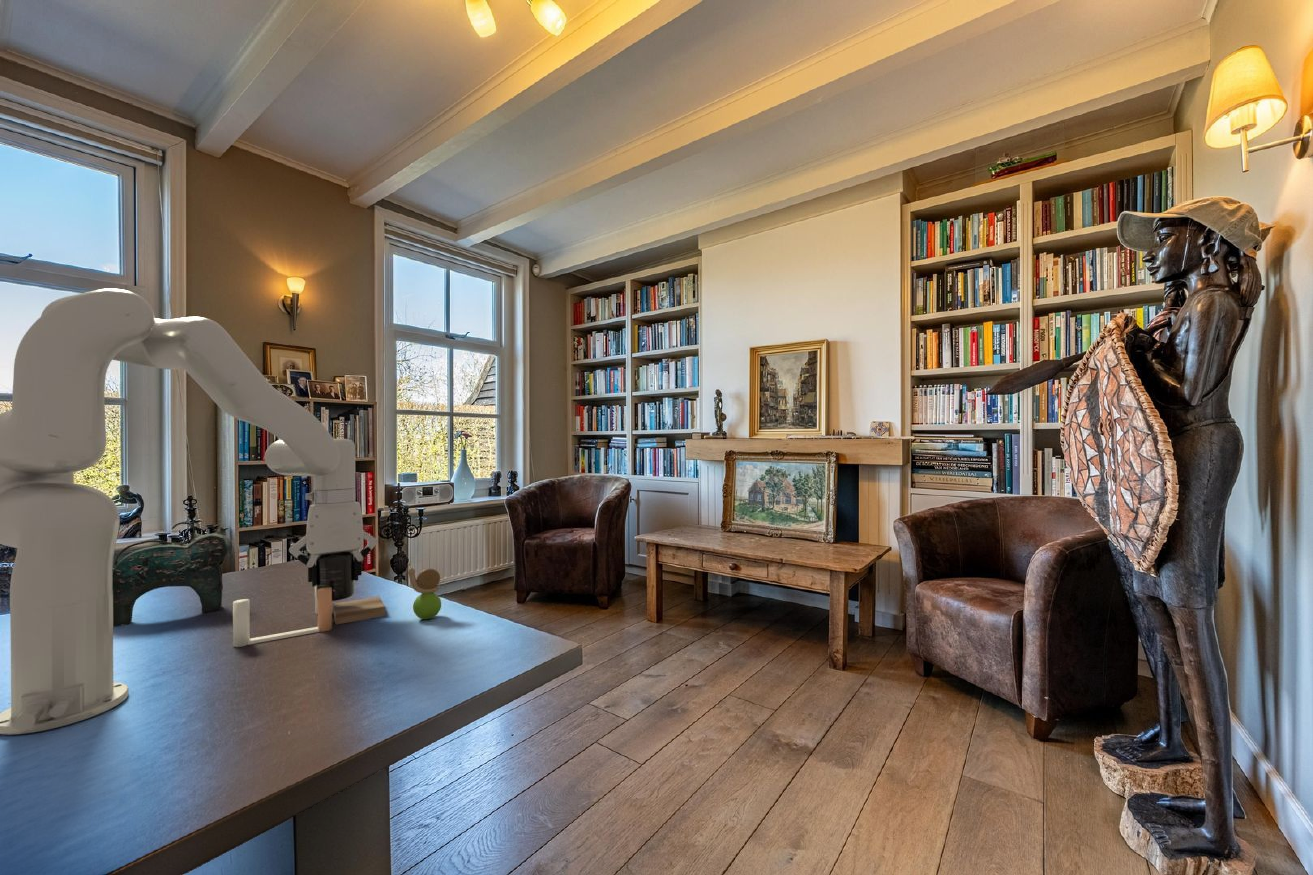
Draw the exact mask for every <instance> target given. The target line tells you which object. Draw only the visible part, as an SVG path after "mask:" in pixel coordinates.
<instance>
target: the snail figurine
mask: <svg viewBox="0 0 1313 875" xmlns="http://www.w3.org/2000/svg"><path fill="white" fill-rule="evenodd" d="M407 566H408V567H409V568H408V569H407V575H408V576H409V581H410V584H411V587H412V588H413V590H414V591H415V592H416V593H419V595H418V596H416V598H415V599H414V602H413V605H412V610H413V612H414V614H415V616H416V617H418V618H420V619H422V620H429V619H432V618H434V617H436V616H437V615H438V614H439V612H441V609H442V600H441V598H440V596H439V594H437V593H436V592H437V591H438V590H439V589H441V585H439V583H440V581H441V575H440V573H439V571H438V570H436V569H434V568H426V569H425V568H424V569H423V570H422V571H420V572H419V573H418V575H417V577H416V575H415V573H416V569H415V568H414V567H410V566H411V562H408V563H407Z"/></svg>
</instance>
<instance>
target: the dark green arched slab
mask: <svg viewBox="0 0 1313 875" xmlns="http://www.w3.org/2000/svg"><path fill="white" fill-rule="evenodd" d="M180 525H189V526H190V527H192V530H193V532H192V536H191V537H190V539H188V540H186V541H182V542H172V541H169V542H168V541H165V540H164V541H163V540H156V539H155V540H154V539H153V540H152V539H150V540H144V541H140V542H136V543H133V544H130V545H127V546H126V547H124V548H123V549H121V551H120V552H118V554H117V555H116V557H115V558H114V561H113V628H114V627H121V626H127V625H130V624H131V623H132V621H133V612H134V611H133V610H134V607H135V606H134V605H135V603H136V601H137V600H138V599H139V598H140V597H142V596H143V595H145V594H146V593H149V592H151V591H153V590H157V589H160V588H166V587H168V588H170V587H187V588H188V587H189V588H190V589H192V590H194V591H195V593H196V594H197V596H198V598H199V601H200V603H201V613H202V614H204V613H209V612H214V611H221V609H222V602H223V601H222V600H223V588H224V586H223V570H222V568H221V566H220V563H221V561H223V560H224V559H225V558H226V557H227V555H228V554H229V553H230V551H231V549H232V548H231V547H232V541H231V539H230V537H229V536H227V533H226V530H225V528H224V527H223V526H221V527H219V528H218V529H217V530H216V531H215V532H213V533H208V534H199V533H197V532H196V531H195V526H194V525H193V524H192V523H190V522H188V521H182V522H181V521H179V522H178V523H176V524H175V525H173V526H172V527H171V530H174V528H176V527H177V526H180ZM146 543H160V544H158V545H154V546H148V547H143V548H141V549H137V550H135V551H132V552H130V553H128V554H127V555H125V556H124V557H123V558H122V559H121V560H119V561H118V559H119V557H120V556H121V555H122V554H124V552H125V551H127V550H129V549H130V548H133V547H135V546H139V545H144V544H146Z"/></svg>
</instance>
